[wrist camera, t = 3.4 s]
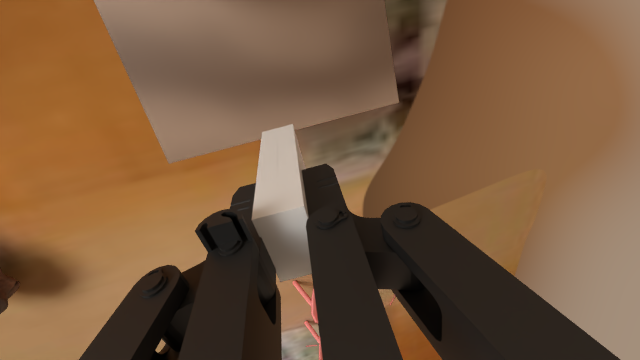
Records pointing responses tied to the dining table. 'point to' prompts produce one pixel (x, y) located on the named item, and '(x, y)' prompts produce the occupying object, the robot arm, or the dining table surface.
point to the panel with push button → (250, 65)
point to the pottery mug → (6, 289)
